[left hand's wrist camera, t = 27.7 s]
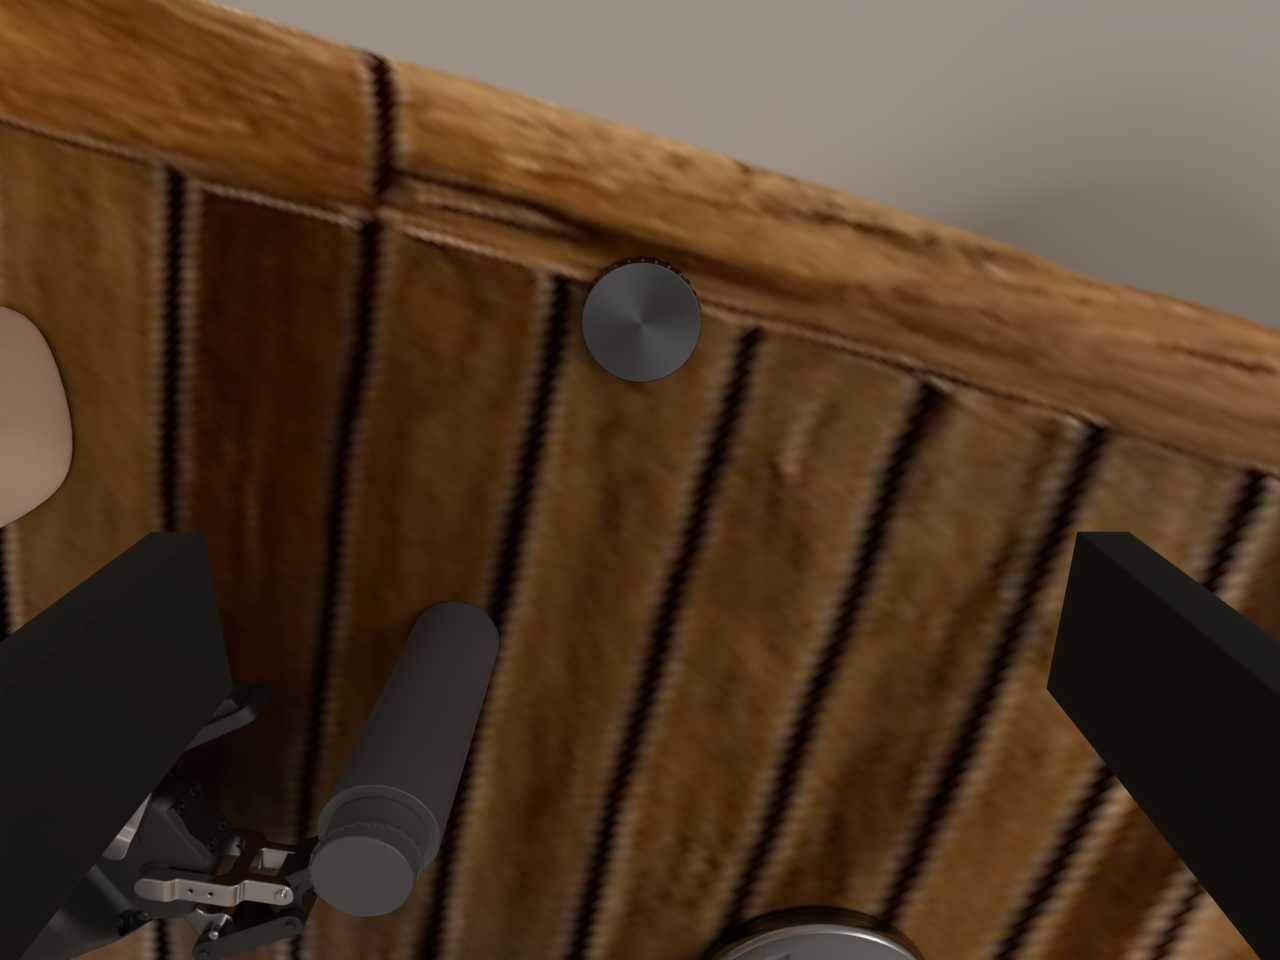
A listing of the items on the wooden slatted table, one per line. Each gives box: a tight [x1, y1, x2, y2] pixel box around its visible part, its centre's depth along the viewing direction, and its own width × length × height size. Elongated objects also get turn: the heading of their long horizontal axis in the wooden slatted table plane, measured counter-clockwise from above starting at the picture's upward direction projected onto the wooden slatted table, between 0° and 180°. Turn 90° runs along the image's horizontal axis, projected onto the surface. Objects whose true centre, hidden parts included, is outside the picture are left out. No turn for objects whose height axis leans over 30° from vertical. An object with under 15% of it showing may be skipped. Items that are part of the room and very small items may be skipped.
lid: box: [580, 256, 702, 382], centre depth 36 cm, size 5×5×2 cm
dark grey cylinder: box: [308, 601, 499, 916], centre depth 36 cm, size 4×4×16 cm
